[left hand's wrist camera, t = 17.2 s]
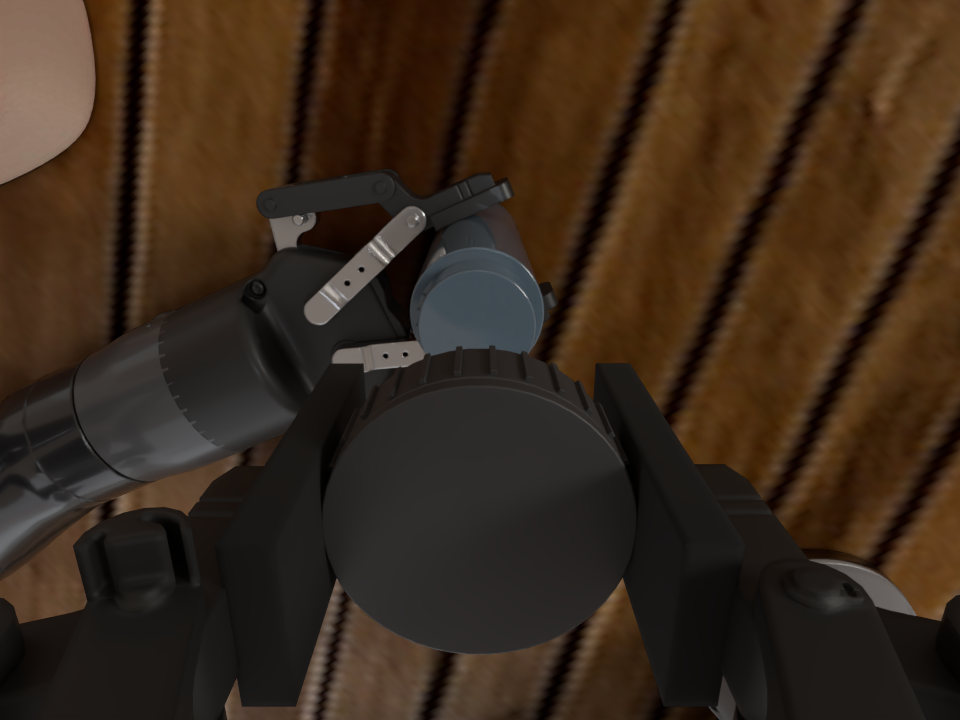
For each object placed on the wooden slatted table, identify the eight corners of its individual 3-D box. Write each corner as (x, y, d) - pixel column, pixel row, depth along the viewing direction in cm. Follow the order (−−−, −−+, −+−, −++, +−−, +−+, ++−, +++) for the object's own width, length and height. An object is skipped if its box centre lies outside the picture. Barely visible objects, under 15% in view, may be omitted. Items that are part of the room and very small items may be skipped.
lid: (581, 609, 13) (596, 679, 11) (323, 568, 13) (300, 634, 11) (655, 373, 11) (685, 415, 10) (357, 318, 11) (335, 352, 9)
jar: (419, 234, 35) (374, 320, 20) (482, 179, 34) (486, 225, 19) (472, 296, 36) (468, 420, 21) (535, 244, 35) (578, 336, 20)
